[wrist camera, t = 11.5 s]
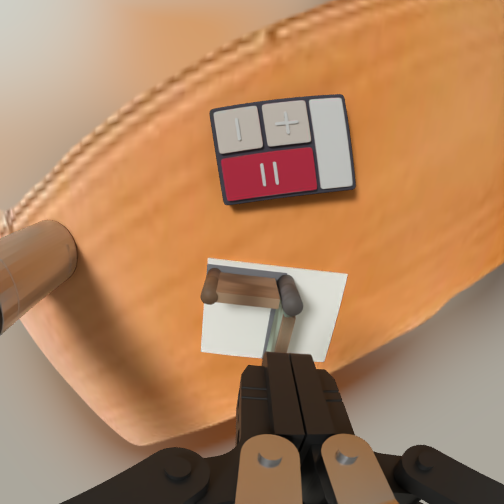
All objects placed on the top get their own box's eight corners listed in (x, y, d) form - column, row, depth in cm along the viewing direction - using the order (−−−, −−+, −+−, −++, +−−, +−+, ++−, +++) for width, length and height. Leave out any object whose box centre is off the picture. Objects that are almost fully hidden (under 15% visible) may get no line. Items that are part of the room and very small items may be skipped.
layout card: (201, 350, 43) (200, 351, 43) (208, 257, 39) (208, 258, 39) (323, 360, 44) (324, 362, 44) (347, 273, 40) (347, 274, 40)
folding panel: (276, 293, 40) (282, 318, 34) (290, 295, 40) (298, 320, 34) (261, 362, 43) (263, 391, 37) (273, 363, 43) (277, 392, 37)
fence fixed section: (207, 280, 40) (199, 306, 33) (208, 264, 39) (201, 287, 32) (292, 290, 41) (301, 316, 34) (295, 274, 40) (305, 298, 33)
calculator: (207, 108, 31) (345, 92, 30) (213, 113, 35) (336, 98, 34) (223, 207, 34) (358, 190, 33) (227, 201, 38) (348, 186, 37)
